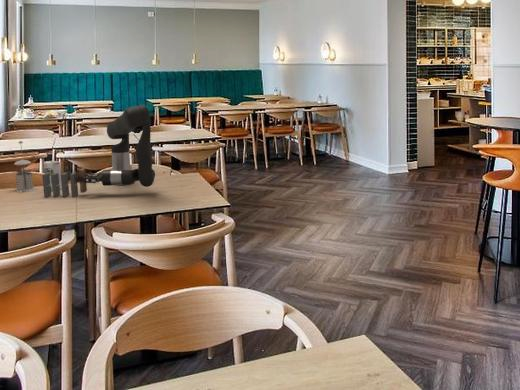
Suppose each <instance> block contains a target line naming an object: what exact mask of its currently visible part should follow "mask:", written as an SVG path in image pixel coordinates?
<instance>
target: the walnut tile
mask: <svg viewBox="0 0 520 390" xmlns="http://www.w3.org/2000/svg"><path fill="white" fill-rule="evenodd" d="M78 176H79V177H86V176H87V174H86V168H85V167H83V168H80V169H78ZM87 186H88V185H87V183H84V182H79V190H80V191H79V192H80V194H82V193H86V192H88V188H87Z"/></svg>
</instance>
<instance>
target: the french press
mask: <svg viewBox="0 0 520 390" xmlns="http://www.w3.org/2000/svg"><path fill="white" fill-rule="evenodd" d="M23 143H24V142H23V141H22V140H19V141H18V144H19V145H22V144H23ZM20 150H21V154H23V150H22V147H20ZM31 164H32V162H31V161H30V160H28V159H23V157H21V159H20V160H16V161H15V162H14V164H13V165H14V166H22V167H21V169H20V170H16V171H15V172H16V174H15V180H16V181H15V182H16V188H15V190H16V191H15V192H18V191H24V192H31V191H35V190H36V187H34V181H33V180H34V179H33V173H32V170H31V169H27V168H26V166H27V165H31ZM23 166H24V167H23Z"/></svg>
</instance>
